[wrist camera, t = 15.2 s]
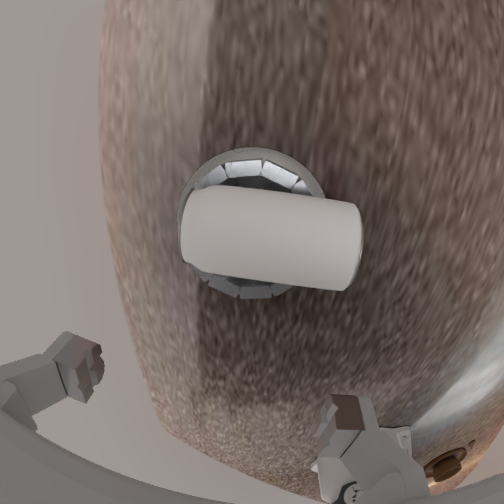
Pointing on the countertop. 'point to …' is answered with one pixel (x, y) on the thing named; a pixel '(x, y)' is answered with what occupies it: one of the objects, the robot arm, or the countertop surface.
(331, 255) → the can
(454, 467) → the place setting
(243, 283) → the notched rim bowl
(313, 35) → the countertop surface
